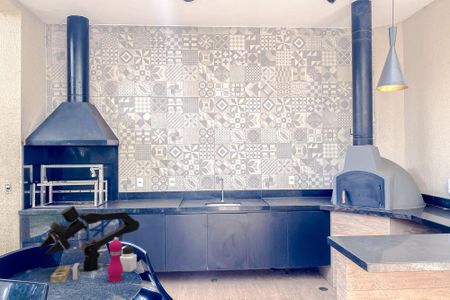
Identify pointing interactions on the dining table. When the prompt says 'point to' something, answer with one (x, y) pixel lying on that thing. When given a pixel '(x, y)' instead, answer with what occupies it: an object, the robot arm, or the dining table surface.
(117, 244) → the pepper mill
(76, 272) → the clip
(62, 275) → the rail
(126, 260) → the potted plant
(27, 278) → the dining table surface
